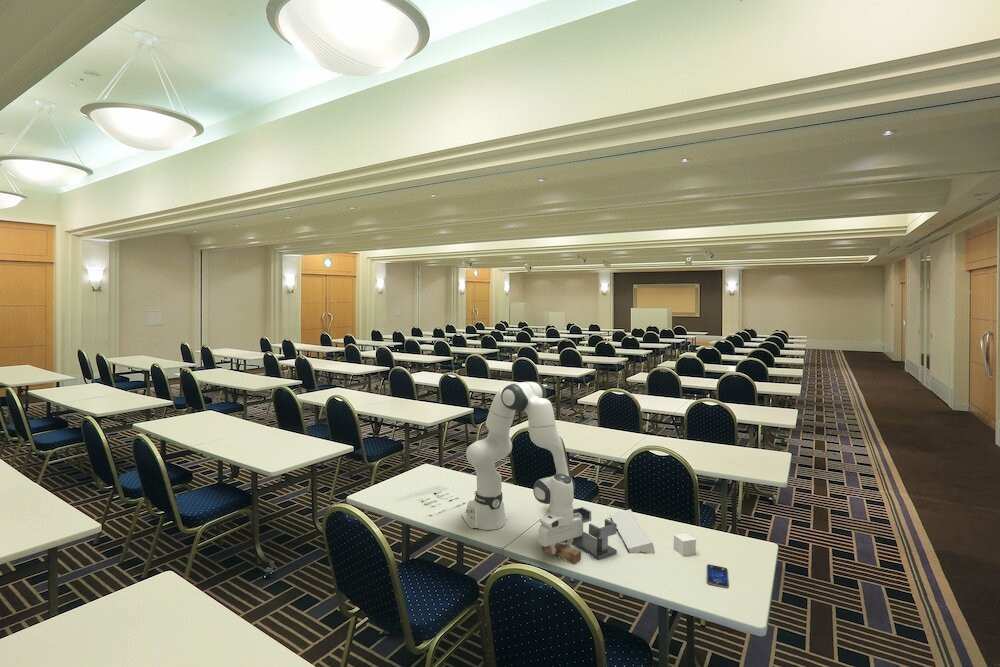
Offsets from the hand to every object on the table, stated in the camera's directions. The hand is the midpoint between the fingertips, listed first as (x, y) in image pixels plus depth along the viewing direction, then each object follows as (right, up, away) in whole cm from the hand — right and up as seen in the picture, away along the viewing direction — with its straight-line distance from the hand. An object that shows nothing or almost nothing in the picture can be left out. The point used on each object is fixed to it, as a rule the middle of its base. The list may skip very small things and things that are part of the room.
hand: (561, 551), depth 202 cm
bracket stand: (+13, -1, +8) cm, 15 cm away
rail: (0, -2, 0) cm, 2 cm away
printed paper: (-57, +1, +57) cm, 81 cm away
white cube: (+50, -2, +5) cm, 51 cm away
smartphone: (+55, -4, -14) cm, 57 cm away
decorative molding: (+32, -2, +20) cm, 38 cm away
